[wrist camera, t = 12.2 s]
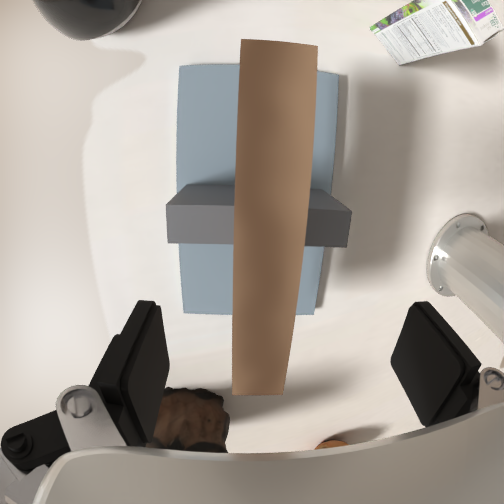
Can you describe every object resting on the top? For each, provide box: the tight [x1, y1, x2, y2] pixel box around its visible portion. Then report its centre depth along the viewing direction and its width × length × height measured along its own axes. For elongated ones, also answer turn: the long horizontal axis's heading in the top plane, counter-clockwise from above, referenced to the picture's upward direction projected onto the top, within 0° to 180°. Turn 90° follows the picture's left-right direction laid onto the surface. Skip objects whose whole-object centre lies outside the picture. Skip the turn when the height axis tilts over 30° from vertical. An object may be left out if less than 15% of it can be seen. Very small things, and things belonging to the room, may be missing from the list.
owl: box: [146, 387, 230, 453], centre depth 34 cm, size 13×13×20 cm
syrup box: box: [370, 0, 504, 65], centre depth 17 cm, size 6×6×14 cm
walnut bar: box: [232, 39, 318, 395], centre depth 19 cm, size 4×24×6 cm, turn 178°
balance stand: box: [166, 65, 352, 315], centre depth 26 cm, size 16×28×10 cm, turn 178°
